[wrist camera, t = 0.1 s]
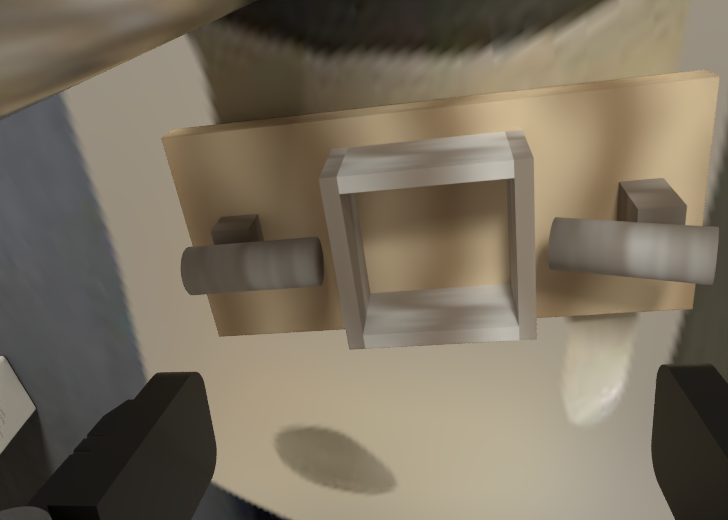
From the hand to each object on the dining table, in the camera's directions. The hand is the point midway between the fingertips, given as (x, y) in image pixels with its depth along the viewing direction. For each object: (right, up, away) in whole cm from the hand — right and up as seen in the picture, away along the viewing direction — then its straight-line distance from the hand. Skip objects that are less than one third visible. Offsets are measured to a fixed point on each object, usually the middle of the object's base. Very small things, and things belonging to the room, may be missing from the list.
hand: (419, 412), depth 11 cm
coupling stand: (+3, +5, +23) cm, 23 cm away
